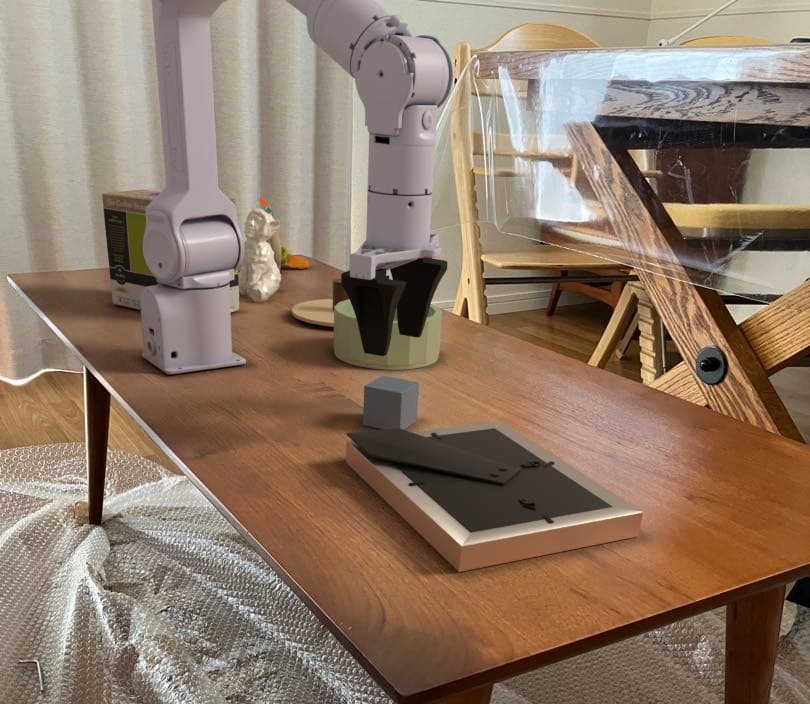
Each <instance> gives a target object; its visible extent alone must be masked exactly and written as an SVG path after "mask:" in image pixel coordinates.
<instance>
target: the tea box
mask: <svg viewBox="0 0 810 704" xmlns="http://www.w3.org/2000/svg"><path fill="white" fill-rule="evenodd" d="M163 190H164V189H161V188H147V189H135V190H125V191H124V190H123V191H112V192H103V193H102V194H101V197H102V198H101V199H102V207H103V219H104V228H105V229H104V230H105V238H106V239H105V241H106V248H107V259H108V268H109V270H108V271H109V277H110V290H111V299H112V304H113V305H117V306H120V307H124V308H125V307H126V308H128V309H129V308H130V309H134V310H139V311H141V309H140V299H141V292H142V290H143V289H144V288H145V287H148V286H154V285H157V284H160V283H158V282H157V279H156V277H155V276H154V275H153V274H152V273H151V271H150V269H149V268H148V266H147V264H146V261H145V258H144V254H143V237H144V233H145V229H146V212H145V209H146V207H147V206H148V205H149V204H150V203H151V202H152V201H153V200H154V199H155V198H156V197H157V196H158V195H159V194H160V193H161V192H162V191H163ZM228 198H229V199H230V200H231V201H232V202H233V203H234V204H235V206H236V207H237V205H236V204H237V201H236V198H231V197H228ZM202 217H205V216H201V217H192V218H188V219H193V218H202ZM238 274H239V268H238V269H237V270H236V271H234V280H232V281H229V285H230V311H231V313H234V312H237V311H239V309H240V295H239V276H238Z"/></svg>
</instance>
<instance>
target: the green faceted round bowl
mask: <svg viewBox="0 0 810 704" xmlns="http://www.w3.org/2000/svg"><path fill="white" fill-rule="evenodd" d="M442 323H443V311H442V309H440V308H439V306H437V305H434V304H432V303H431V304H430V308H429V311H428V315H427V318H426V322H425V326H424V329H423V332H422V335H421V337H419V338H417V337H411V336H405V335H400V334H399V329H398V322H397V308H396V311H395V316H394V320H393V327H392V334H391V341H390V346H389V349H388V352H387V355H385V356H378V355H372V354H367V353H364V350H363V346H362V342H361V337H360V332H359V327H358V323H357V319H356V315H355V312H354V309H353V307H352V304H351V302H350V299H348V300H345V301H341V302H339V303H338V304H337V305H336V306H335V307H334V327H333V350H334V351H333V352H334V355H335V357H336V358H337V359H339V360H340V361H342V362H344V363H347V364H349V365H353V366H356V367H361V368H366V369H373V370H383V371H385V370H386V371H404V370H405V371H406V370H414V369H419V368H425V367H428V366H430V365H433V364H435V363H436V362H437V361H438V360H439V356H440V355H439V354H440V352H441V351H440V349H441V336H442Z"/></svg>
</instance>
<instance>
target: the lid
mask: <svg viewBox="0 0 810 704" xmlns="http://www.w3.org/2000/svg"><path fill="white" fill-rule="evenodd" d="M348 299H349V297H348V295H347V293H346V291H345V290H344V288H343V286H342V285H341V278H334V279H333V280H332V298H326V299H325V298H322V299H314V300H308V301H304V302H299V303H297V304H295V305H294V306H292V308H291V315H292V316H293V317H294V318H295V319H297V320H299V321H302V322H305V323H309V324H312V325H316V326H317V325H319V326H322V327H328V328H329V327H330V328H334V307H335V306H336V305H337V304H338V303H339V302H341V301H345V300H348Z"/></svg>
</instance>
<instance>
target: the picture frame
mask: <svg viewBox="0 0 810 704" xmlns="http://www.w3.org/2000/svg"><path fill="white" fill-rule="evenodd" d="M346 436H347V437H348V438H349V439H350V440H346V443H345V445H346V446H345V463H346V465H348V466H349V467H350V468H351V470H352V471H354V472H355V473H356V474H357V475H358V476H359V478H361V479H362V480H363V481H364V482H365V483H366V484H367V485H368V486H369V487H371V488H372V489H373V491H374V492H376V493H377V494H378V495H379V496H380V497H381V498H382V500H384V501H385V502H386V503H387V504H388V505H389V506H390V507H391V508H392V509H393V510H394V511H395V512H396V513H397V514H398V515H400V517H401V518H402V519H403V520H404V521H406V523H408V524H409V525H410V527H412V528H413V529H414V531H416V533H418V534H419V536H421V537H422V538H423V539H424V540H425V541H426V542H427V543H428V544H429V545H430V546H431V547H433V548H434V549H435V550H436V551H437V553H439V554H440V555H441V556H442V558H444V559H445V560H446V561H447V562H448V563H449V564H450V565H451V566H452V567H453V568H454V569H455V570H456V571H457V572H458V573H461V572H467V571H472V570H476V569H481V568H482V569H483V568H487V567H492V566H497V565H501V564H508V563H512V562H516V561H517V562H518V561H522V560H526V559H527V560H528V559H531V558H532V559H533V558H537V557H542V556H547V555H552V554H557V553H563V552H567V551H571V550H572V551H573V550H577V549H581V548H582V549H583V548H588V547H592V546H597V545H602V544H607V543H612V542H616V541H623V540H627V539H633V538H637V537H639V536H640V531H641V525H642V520H643V515H644V514H643V513H644V512H643V511H642V510H641V509H639V508H637V507H636V506H634V505H633V504H632V503H630V502H628V501H626V500H625V499H624V498H622V497H621V496H619V495H618V494H616V493H614V492H613V491H611V490H610V489H608V488H607V487H605V486H603V484H600V483H599V482H597V481H596V480H594V479H592V478H591V477H589V476H588V475H586V474H585V473H583V472H582V471H580V470H578V469H577V468H576V467H574V466H572V465H571V464H569V463H568V462H566V461H564V460H563V459H562V458H560V457H558V456H557V455H555V454H554V453H552V452H551V451H549V450H547V448H544V447H542V446H541V445H539V444H538V443H537V442H535V441H534V440H532V439H530V438H529V437H528V436H526V435H524V434H522V433H521V432H520V431H518V430H516V429H515V428H513V427H512V426H510V425H509V424H507V423H506V422H504V421H502V420H499V421H492V422H485V423H484V422H483V423H476V424H467V425H461V426H460V425H459V426H451V427H445V428H437V429H428V430H420V431H413V432H412V431H408V430H407V429H405V430H403V429H400V428H394V429H371V430H362V431H350V432H346Z"/></svg>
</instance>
